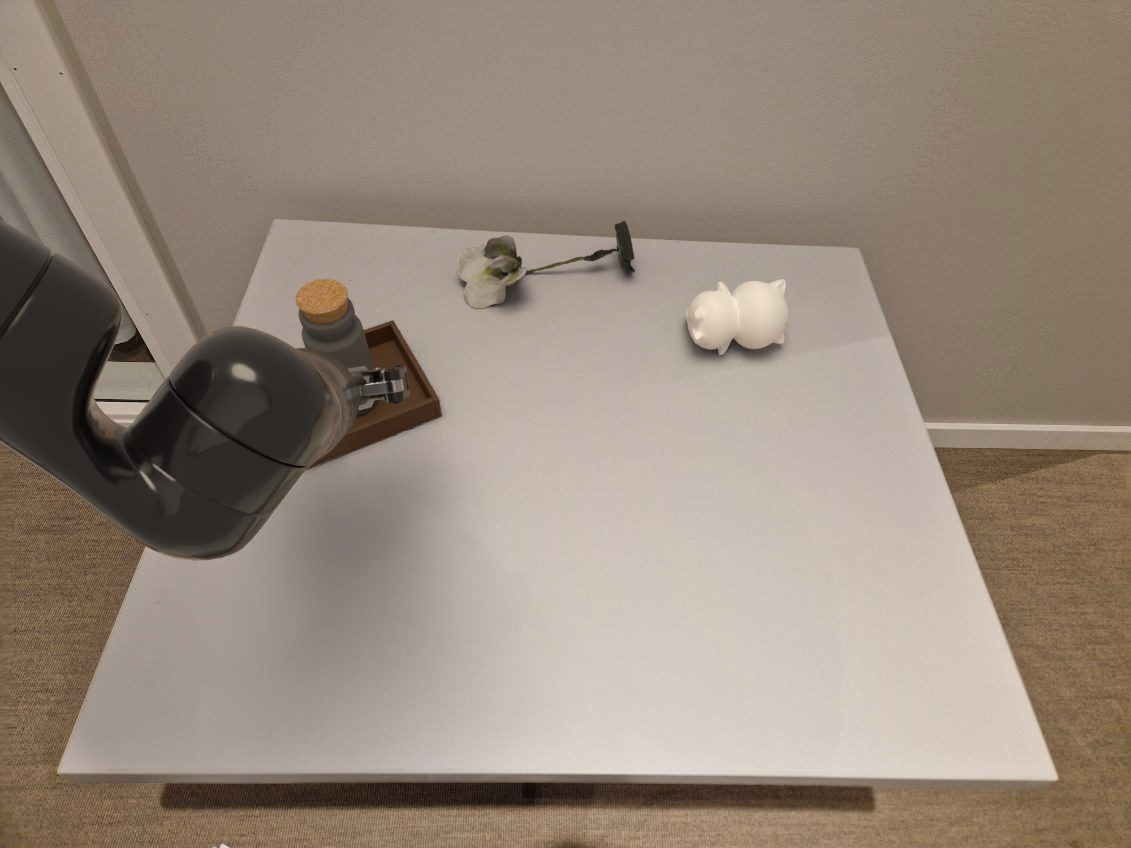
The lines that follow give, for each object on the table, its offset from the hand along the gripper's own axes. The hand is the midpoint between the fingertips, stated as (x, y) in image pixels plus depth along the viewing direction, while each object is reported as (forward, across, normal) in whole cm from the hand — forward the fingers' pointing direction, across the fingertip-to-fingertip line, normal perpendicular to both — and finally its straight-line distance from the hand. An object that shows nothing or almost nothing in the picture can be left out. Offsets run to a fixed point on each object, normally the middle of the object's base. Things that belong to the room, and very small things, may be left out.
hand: (329, 387), depth 65 cm
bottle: (+15, 0, +2) cm, 15 cm away
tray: (+15, 0, +3) cm, 16 cm away
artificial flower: (+26, -25, -8) cm, 37 cm away
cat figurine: (+17, -44, +1) cm, 48 cm away
